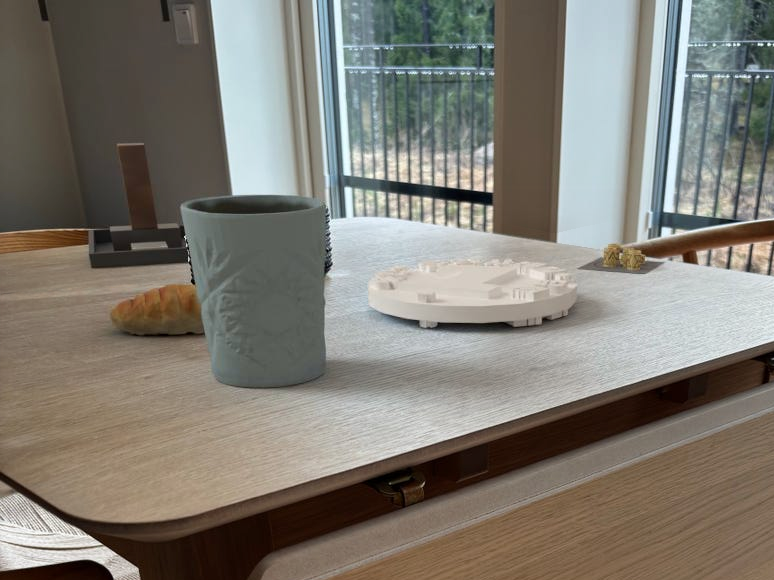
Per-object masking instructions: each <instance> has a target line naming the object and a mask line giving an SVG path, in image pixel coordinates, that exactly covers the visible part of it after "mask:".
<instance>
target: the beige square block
mask: <svg viewBox="0 0 774 580" xmlns="http://www.w3.org/2000/svg"><path fill="white" fill-rule="evenodd" d="M166 248H168V246H167V244H166V242H165V241H164V242H146V243H131V249H132V250H149V249H166Z"/></svg>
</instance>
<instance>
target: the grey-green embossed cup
mask: <svg viewBox="0 0 774 580" xmlns="http://www.w3.org/2000/svg"><path fill="white" fill-rule="evenodd" d="M180 214H181V219H182V223H183V224H182V225H184V229H185V234H186V238H187V242H188V245H189V251H190V257H191V262H190V263H191V269H192V273H193V279H194V285H196V290H197V295H198V299H199V301H200V304H201V307H202V311H201V313H202V320H203V325H204V330H205V333H204V335H205V339H206V345H207V348H208V349H207V350H208V354H209V361H210V367H211V372H212V374H213V376H214V378H215V379H216V380H217V381H218V382H220V383H222V384H225V385H228V386H232V387H233V386H234V387H242V388H255V389H257V388H258V389H259V388H261V389H263V388H265V389H266V388H280V387H287V386H294V385H299V384H304V383H307V382H310V381H313V380H315V379H318V378H319V377H321V376H323V374H324V373H325V372H326V365H327V347H326V346H327V345H326V337H325V326H326V325H325V321H326V320H325V319H326V318H325V317H326V316H325V315H326V314H325V312H326V311H325V307H326V299H325V264H326V263H325V261H326V247H327V246H326V245H327V242H326V240H327V239H326V238H327V237H326V236H327V235H326V231H327V230H326V229H327V225H326V224H327V206H326V203H325V202H324V201H322V200H321V199H318V198H314V197H309V196H302V195H288V194H285V195H284V194H236V195H235V194H233V195H219V196H209V197H200V198H195V199H190V200H186V201H184V202H183V203H181V204H180Z"/></svg>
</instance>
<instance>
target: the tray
mask: <svg viewBox="0 0 774 580" xmlns="http://www.w3.org/2000/svg"><path fill="white" fill-rule="evenodd" d="M178 226H179V228H180V233H181V240H182V246H183V248H166V249H149V250H131V251H114V249H113V243H112V238H111V232H110V228H96V229H88V258H89V263H90V268H91V269H103V268H104V269H107V268H120V267H135V266H136V267H137V266H153V265H154V266H155V265H169V264H181V263H182V264H184V263H185V264H186V263H189V262H188V251H187V247H186V241H185V238H184V236H185V235H186V234H185V229H184V224H178Z"/></svg>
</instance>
